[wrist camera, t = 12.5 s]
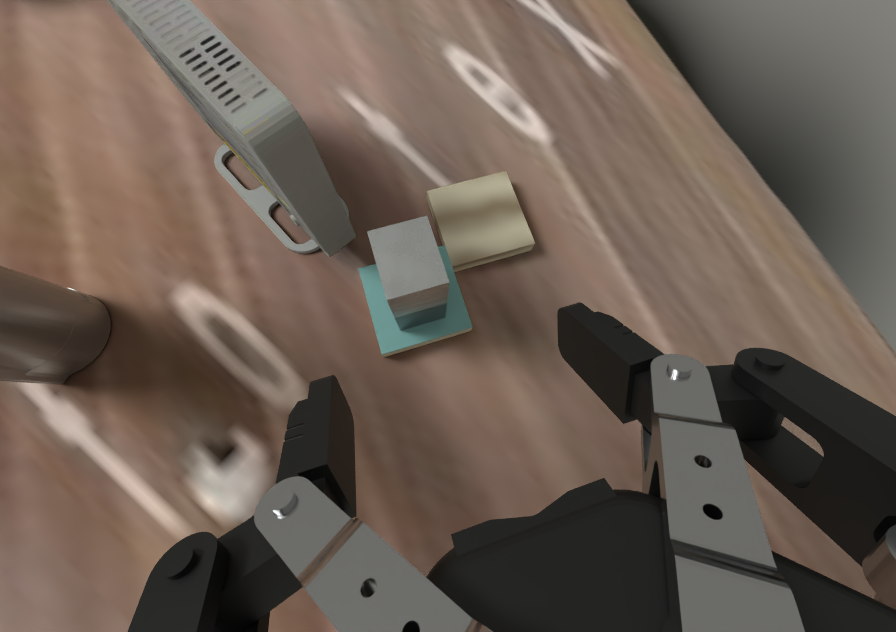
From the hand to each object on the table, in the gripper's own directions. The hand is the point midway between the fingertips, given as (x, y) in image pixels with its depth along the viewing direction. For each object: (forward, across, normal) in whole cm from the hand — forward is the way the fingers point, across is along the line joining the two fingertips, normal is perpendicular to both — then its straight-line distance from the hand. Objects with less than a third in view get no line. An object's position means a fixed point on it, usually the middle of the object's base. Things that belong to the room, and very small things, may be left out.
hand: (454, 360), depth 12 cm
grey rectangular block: (+25, -1, +10) cm, 27 cm away
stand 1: (+26, -1, +11) cm, 28 cm away
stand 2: (+31, -11, +6) cm, 33 cm away
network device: (+40, +11, -2) cm, 41 cm away
